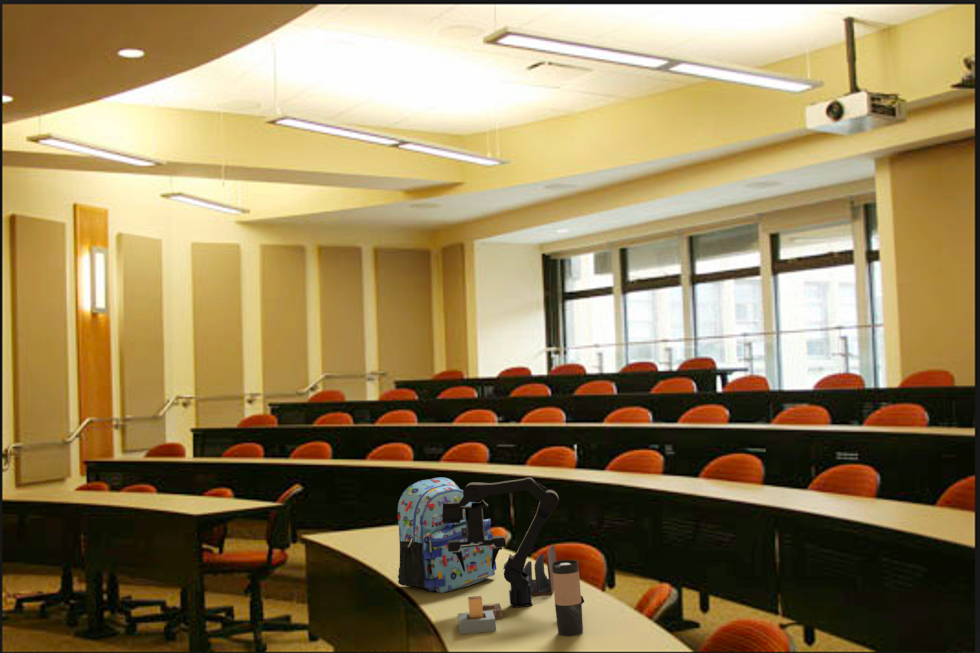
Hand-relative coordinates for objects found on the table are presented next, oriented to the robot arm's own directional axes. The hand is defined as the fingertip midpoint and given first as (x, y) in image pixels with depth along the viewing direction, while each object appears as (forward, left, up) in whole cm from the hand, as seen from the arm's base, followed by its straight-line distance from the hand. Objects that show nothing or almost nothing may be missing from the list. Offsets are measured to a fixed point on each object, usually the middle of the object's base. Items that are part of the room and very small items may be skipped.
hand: (478, 570), depth 328 cm
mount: (-1, +12, -12) cm, 17 cm away
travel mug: (-23, +40, -12) cm, 48 cm away
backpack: (+9, -41, -12) cm, 44 cm away
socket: (+3, +25, -12) cm, 28 cm away
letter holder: (-22, -18, -12) cm, 31 cm away
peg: (+3, +25, -12) cm, 28 cm away
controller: (-26, +26, -12) cm, 39 cm away
